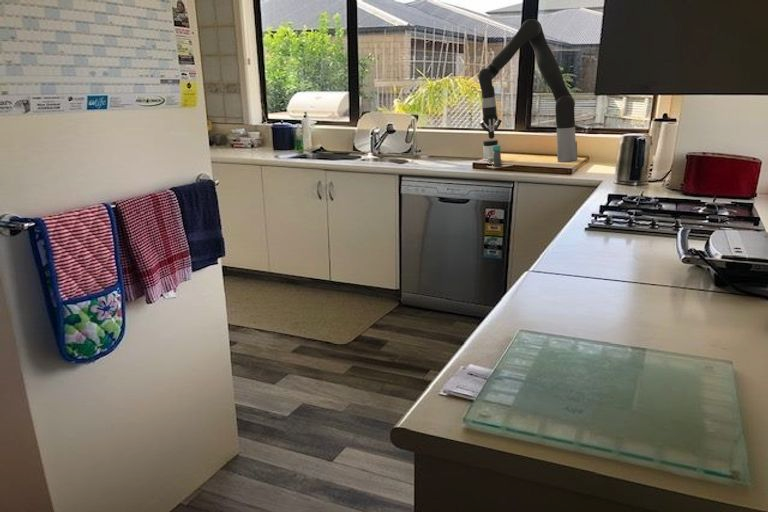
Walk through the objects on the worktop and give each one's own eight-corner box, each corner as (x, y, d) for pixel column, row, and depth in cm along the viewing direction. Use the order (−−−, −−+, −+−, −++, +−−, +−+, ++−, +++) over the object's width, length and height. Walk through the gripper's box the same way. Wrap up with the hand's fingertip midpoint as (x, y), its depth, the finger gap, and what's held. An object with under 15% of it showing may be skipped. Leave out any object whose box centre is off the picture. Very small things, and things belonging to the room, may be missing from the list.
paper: (506, 163, 325) (506, 163, 325) (514, 165, 316) (514, 164, 316) (486, 166, 322) (486, 166, 322) (493, 168, 314) (493, 167, 314)
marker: (499, 165, 320) (498, 145, 317) (502, 165, 316) (501, 145, 313) (492, 166, 319) (491, 146, 316) (495, 167, 315) (494, 146, 313)
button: (494, 161, 331) (494, 156, 330) (498, 162, 327) (498, 157, 326) (487, 162, 330) (486, 157, 329) (490, 163, 326) (490, 158, 325)
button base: (495, 162, 333) (495, 158, 332) (501, 164, 326) (501, 159, 326) (484, 164, 331) (484, 160, 330) (489, 165, 325) (489, 161, 324)
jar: (486, 163, 336) (484, 142, 332) (482, 161, 343) (480, 140, 340) (501, 161, 337) (500, 140, 333) (496, 159, 344) (495, 139, 341)
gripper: (480, 107, 315) (483, 140, 320) (503, 104, 318) (505, 137, 323) (475, 108, 322) (477, 140, 327) (497, 104, 325) (499, 136, 330)
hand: (491, 138), depth 325 cm, fingers closed
